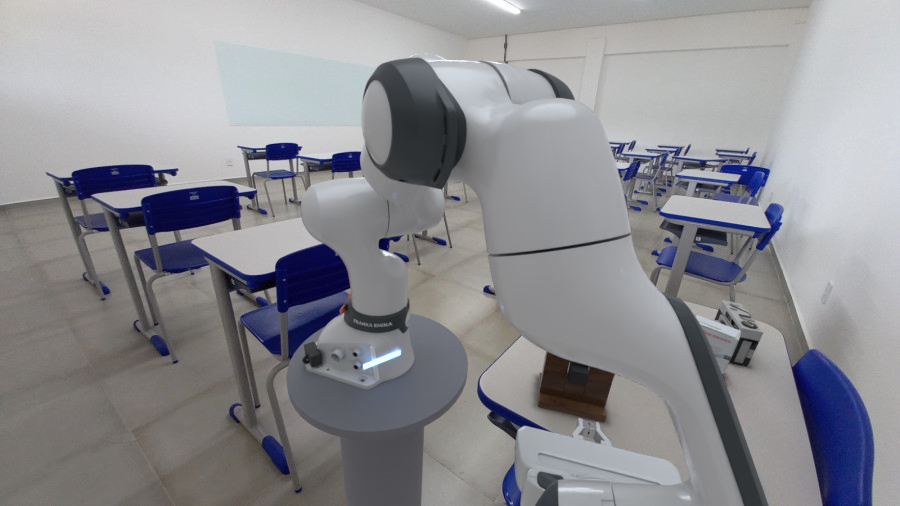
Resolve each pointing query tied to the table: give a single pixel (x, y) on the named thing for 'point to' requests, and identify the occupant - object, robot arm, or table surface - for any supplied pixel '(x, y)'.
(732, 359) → the grey black box
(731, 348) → the ink box
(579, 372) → the near switch
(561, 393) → the near plate
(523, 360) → the table surface
